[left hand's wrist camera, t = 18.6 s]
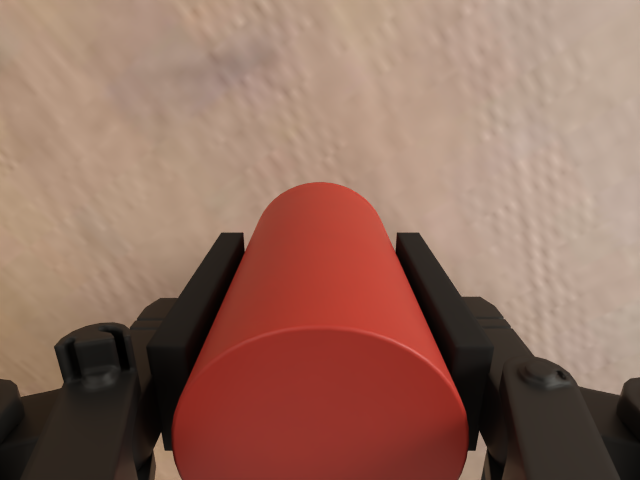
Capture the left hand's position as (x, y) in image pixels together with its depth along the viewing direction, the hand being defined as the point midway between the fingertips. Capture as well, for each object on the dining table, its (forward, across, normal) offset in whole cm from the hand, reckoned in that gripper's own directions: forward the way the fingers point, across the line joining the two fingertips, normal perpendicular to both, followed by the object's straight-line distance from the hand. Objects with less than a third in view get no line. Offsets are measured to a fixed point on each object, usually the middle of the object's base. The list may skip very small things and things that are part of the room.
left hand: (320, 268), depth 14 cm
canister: (+2, 0, 0) cm, 2 cm away
